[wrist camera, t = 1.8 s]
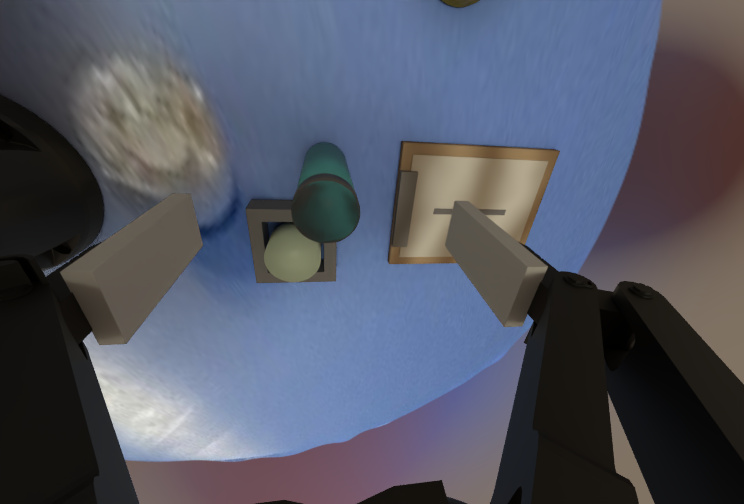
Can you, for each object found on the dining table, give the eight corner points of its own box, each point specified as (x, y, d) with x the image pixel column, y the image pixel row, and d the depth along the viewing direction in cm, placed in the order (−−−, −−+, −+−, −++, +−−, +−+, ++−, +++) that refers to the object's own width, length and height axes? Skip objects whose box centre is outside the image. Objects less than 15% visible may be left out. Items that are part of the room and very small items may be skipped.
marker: (305, 178, 27) (293, 243, 16) (304, 137, 26) (288, 178, 15) (345, 180, 28) (358, 243, 17) (346, 139, 26) (362, 180, 15)
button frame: (261, 269, 32) (256, 282, 30) (251, 199, 28) (245, 209, 26) (335, 268, 33) (335, 281, 31) (335, 201, 29) (336, 210, 27)
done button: (271, 266, 30) (266, 282, 27) (266, 221, 27) (260, 235, 25) (321, 265, 30) (321, 281, 28) (320, 222, 28) (320, 235, 26)
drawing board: (387, 260, 33) (390, 266, 32) (401, 140, 27) (405, 143, 26) (514, 258, 36) (520, 264, 35) (554, 149, 30) (564, 152, 28)
